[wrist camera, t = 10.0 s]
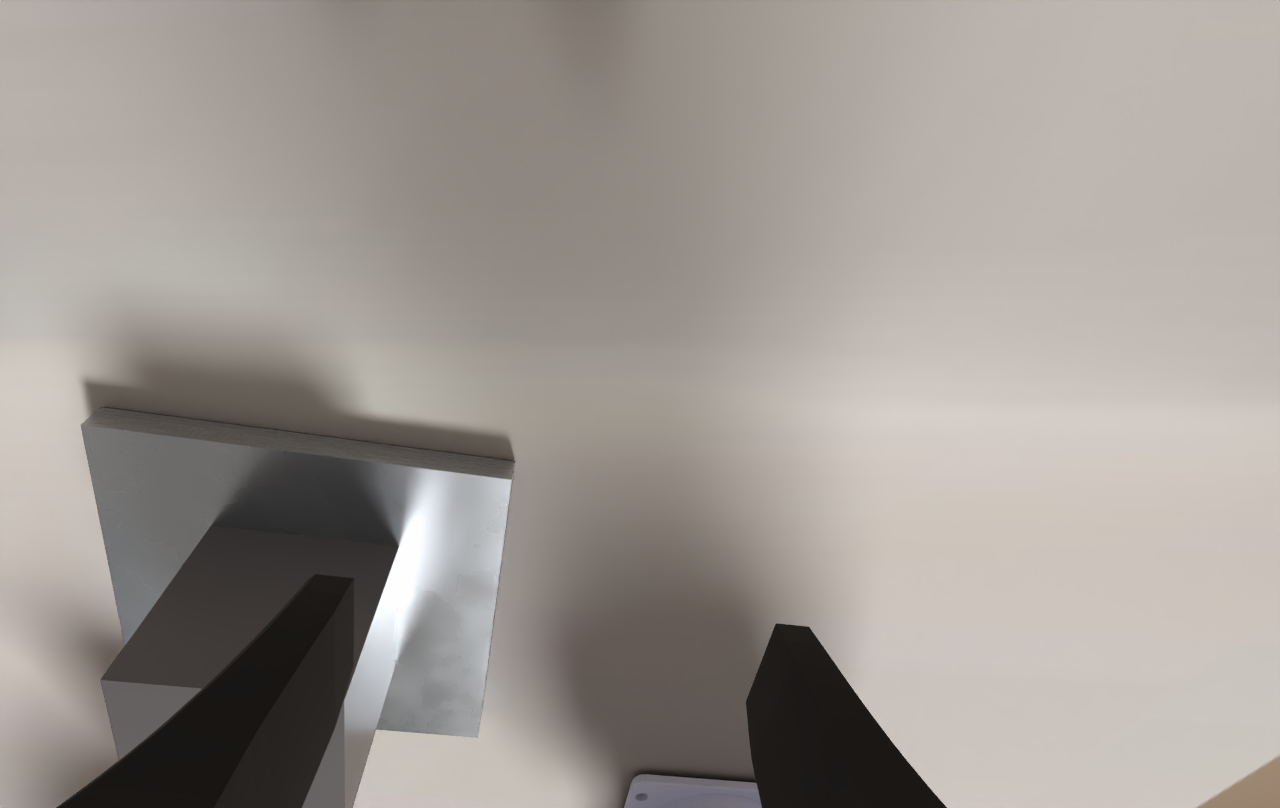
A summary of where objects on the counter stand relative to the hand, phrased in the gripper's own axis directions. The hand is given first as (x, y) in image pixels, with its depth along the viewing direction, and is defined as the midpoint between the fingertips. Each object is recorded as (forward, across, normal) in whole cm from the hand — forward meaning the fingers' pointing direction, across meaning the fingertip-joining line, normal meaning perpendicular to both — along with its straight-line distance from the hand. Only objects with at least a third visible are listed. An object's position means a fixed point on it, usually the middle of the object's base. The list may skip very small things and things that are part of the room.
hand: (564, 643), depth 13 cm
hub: (+10, +8, +10) cm, 16 cm away
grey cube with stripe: (+9, +8, +9) cm, 15 cm away
